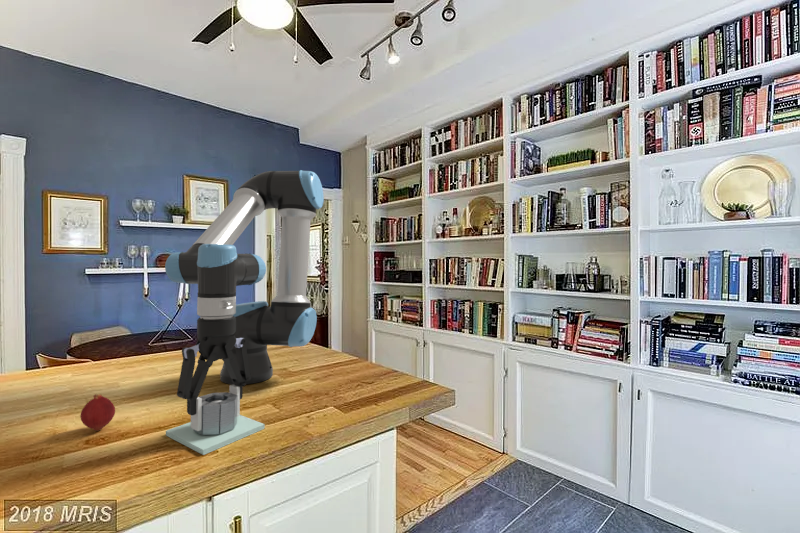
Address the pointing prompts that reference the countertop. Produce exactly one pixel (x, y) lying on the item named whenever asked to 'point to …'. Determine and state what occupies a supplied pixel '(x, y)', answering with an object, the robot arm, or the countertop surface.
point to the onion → (97, 412)
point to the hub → (218, 413)
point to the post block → (214, 435)
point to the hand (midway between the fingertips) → (216, 421)
